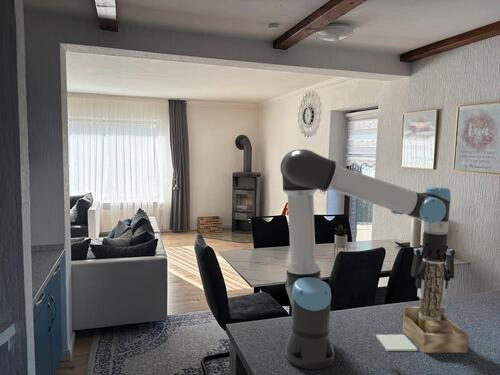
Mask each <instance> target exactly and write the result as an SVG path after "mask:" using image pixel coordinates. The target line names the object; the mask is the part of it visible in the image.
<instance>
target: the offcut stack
mask: <svg viewBox="0 0 500 375" xmlns="http://www.w3.org/2000/svg"><path fill="white" fill-rule="evenodd" d="M452 328H453V326H452V325H451V324H450V323H448V322H447V321H426V324H425V329H426V332H425V333H457V332H456V331H454V330H453V329H452Z"/></svg>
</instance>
